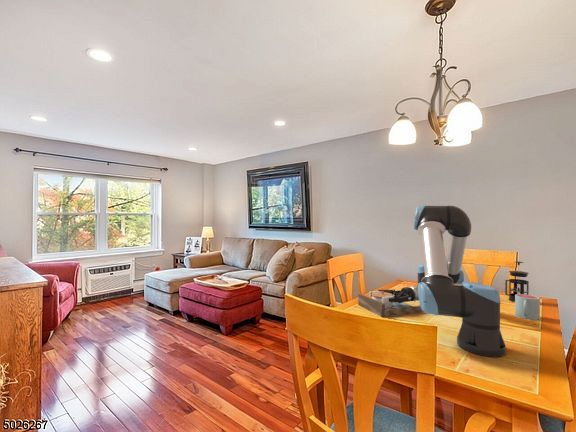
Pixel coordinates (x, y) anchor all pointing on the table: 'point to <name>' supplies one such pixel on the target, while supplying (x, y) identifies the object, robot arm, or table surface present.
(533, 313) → the mug
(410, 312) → the bay
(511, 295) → the french press
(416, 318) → the table surface
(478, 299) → the robot arm
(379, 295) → the lidded jar
